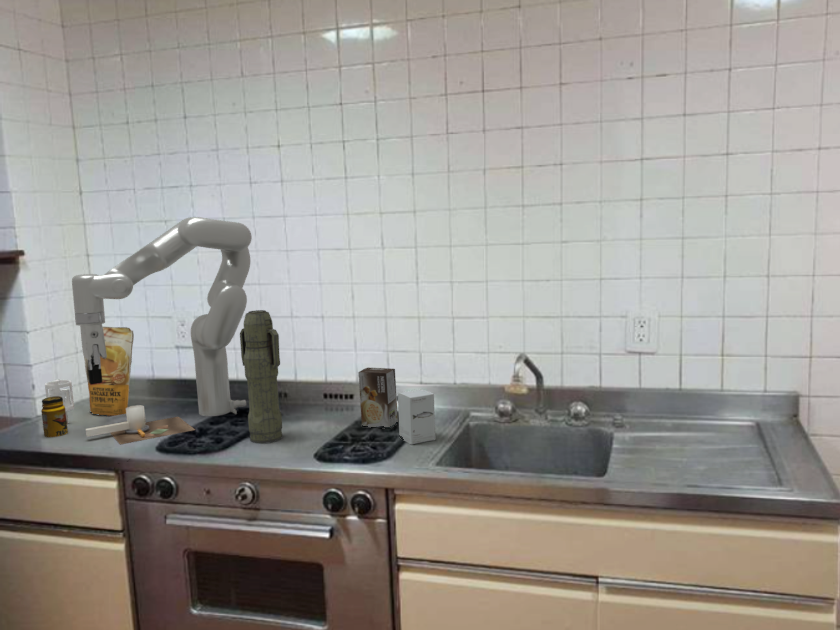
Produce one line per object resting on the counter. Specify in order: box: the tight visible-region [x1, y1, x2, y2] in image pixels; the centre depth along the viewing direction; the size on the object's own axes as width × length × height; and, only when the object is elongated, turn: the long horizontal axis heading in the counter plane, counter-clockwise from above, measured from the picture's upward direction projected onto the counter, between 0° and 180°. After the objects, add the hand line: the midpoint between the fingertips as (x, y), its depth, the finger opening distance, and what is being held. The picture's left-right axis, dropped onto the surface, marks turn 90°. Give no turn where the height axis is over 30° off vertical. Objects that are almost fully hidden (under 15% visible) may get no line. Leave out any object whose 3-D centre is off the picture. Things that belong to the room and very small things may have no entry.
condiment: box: [40, 396, 69, 438], centre depth 201 cm, size 7×8×12 cm
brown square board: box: [110, 416, 196, 445], centre depth 202 cm, size 20×18×2 cm
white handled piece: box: [85, 404, 149, 437], centre depth 196 cm, size 16×11×7 cm
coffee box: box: [357, 367, 399, 428], centre depth 201 cm, size 9×6×16 cm
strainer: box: [44, 378, 75, 425], centre depth 212 cm, size 7×7×15 cm
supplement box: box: [397, 388, 436, 446], centre depth 187 cm, size 7×7×13 cm
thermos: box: [239, 309, 283, 444], centre depth 192 cm, size 9×12×35 cm
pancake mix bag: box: [80, 326, 135, 417], centre depth 226 cm, size 7×19×28 cm, turn 69°
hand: (95, 383), depth 200 cm, fingers closed
